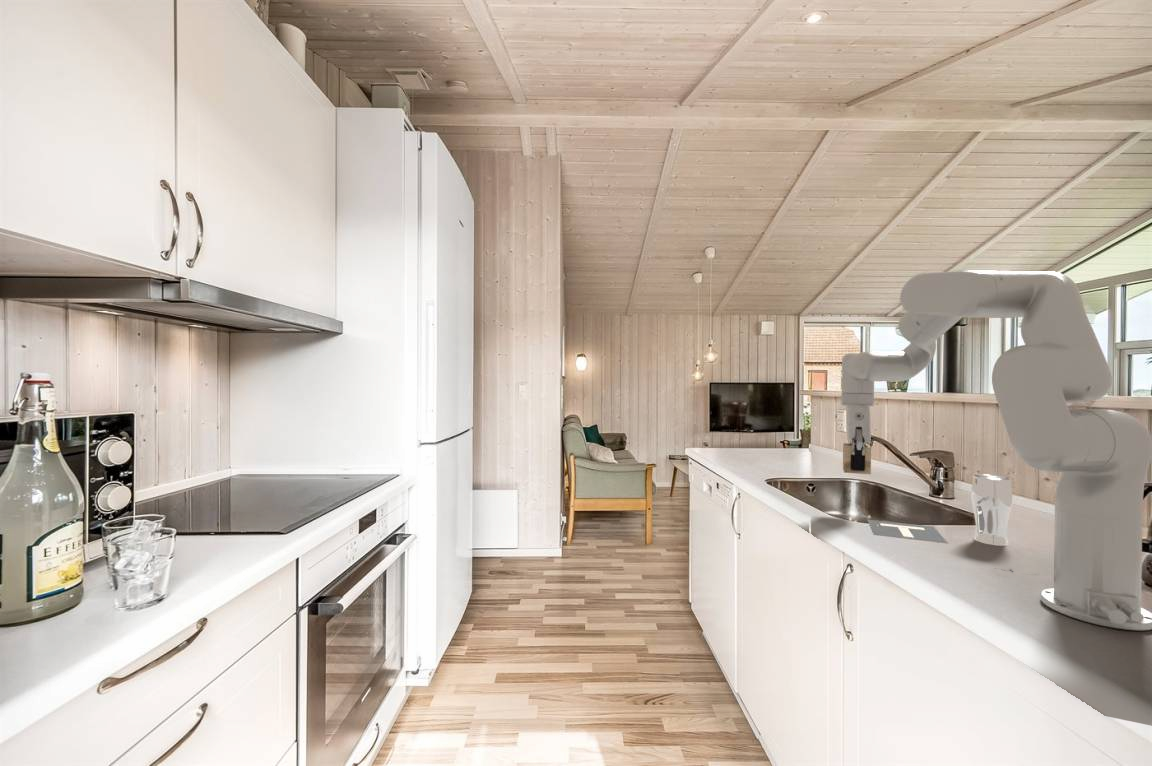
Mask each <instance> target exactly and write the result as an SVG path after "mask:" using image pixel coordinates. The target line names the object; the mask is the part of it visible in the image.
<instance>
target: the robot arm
mask: <svg viewBox="0 0 1152 766" xmlns="http://www.w3.org/2000/svg"><path fill="white" fill-rule="evenodd" d="M899 299H900V301H899V302H900V305H901V307H902V308H903V309H904V311H906V312H905V313H904V314H903V315H902V316H901V317H900V319H899V321H898V325H897V326H898V330H899V331H898V332H900V334H901V336H902V337H903V338H904V339H905V340H906V341H908V343H909V345H907V346H906V347H905V348H904V349H902V350H900V351H895V350H892V351H890V350H885V351H884V350H883V351H882V350H869V351H862V352H857V353H847V354H844V355H843V356H842V358H841V397H840V398H841V399H840V400H841V406H845V407H846V408H845V411H846V413H845V414H846V415H845V416H846V417H845V423H846V424H845V426H846V438H847V441H848V442H849V444H852V455H851V470H856V471H865V455H864V444H868V445H869V446H870V444H871V438H872V437H871V410H870V407H874V406H875V382H904V381H908V380H910V379H913V378H915V377H916V376H917V375H918V374H920V373H921V372H922V371H923V370H925V369H926V368H927V367H928V366H929V365H930V364H931V363H932V361H933V359H934V357H935V354H936V349H937V340H939V338H941V337H942V336H943V335H944V334H945V333H946V332H948V331H949V330H950V329H951V328H953V326H955V324H957V323H958V322H959V321H960V320H961V319H963V318H968V319H969V318H973V319H974V318H975V319H976V318H979V319H981V318H982V319H983V318H984V319H1014V318H1015V319H1017V318H1022V319H1021V324H1020V334H1021V335H1020V336H1021V338H1022V341H1023V343H1024V344H1022V345H1017V346H1014V347H1011V348H1009V349H1007V350H1006V351H1004V352H1002V354H1000V356H999V357H998V358H997V359H996V361H995V362H994V365H993V368H992V374H991V385H992V389H993V392H994V395H995V399H996V402H997V405H998V408H999V411H1000V414H1001V417H1002V420H1003V424H1004V426H1005V430H1006V432H1007V435H1008V438H1009V440H1010V443H1011V445H1012V446H1011V447H1013V449H1014V450H1013V451H1015V453H1016V455H1017V456H1018V458H1020V460H1021V461H1023V462H1024V463H1025V464H1026V465H1028V466H1030V467H1031V468H1033V469H1036V470H1040V471H1044V472H1057V473H1058V472H1061V473H1062V474H1061V475H1060V477H1059V480H1058V481H1057V482H1058V483H1057V485H1056V489H1055V492H1054V493H1055V496H1054V526H1053V527H1054V528H1053V529H1054V533H1053V534H1054V536H1053V537H1054V538H1053V539H1054V540H1053V544H1054V546H1053V549H1054V550H1053V587H1052V588H1046V589H1043V590H1042V591H1041V592H1040V600H1041V602H1042V603H1043V604H1044V605H1045V606H1047V607H1049V608H1050V609H1051V610H1053V611H1055V612H1058V613H1059V614H1060V613H1061V614H1062V615H1064V616H1068V617H1071V618H1074V619H1076V620H1080V621H1083V622H1086V623H1090V624H1093V625H1097V626H1102V627H1107V628H1114V629H1117V630H1118V629H1119V630H1124V631H1125V630H1127V631H1150V630H1152V612H1151V611H1149V610H1147V609H1145V608H1143V607H1142V565H1143V564H1142V563H1143V561H1142V560H1143V557H1142V556H1143V517H1144V515H1143V511H1144V510H1143V508H1144V491H1145V483H1146V477H1147V474H1148V471H1149V467H1150V464H1151V462H1152V461H1151V460H1152V435H1151V433H1150V431H1149V429H1148V428H1147V426H1146V425H1145V424H1144V423H1143V422H1141V420H1139V419H1138V418H1136V417H1134V416H1132V415H1130V414H1128V413H1125V412H1123V411H1118V410H1113V409H1105V408H1104V409H1103V408H1101V409H1100V408H1099V409H1098V408H1072V409H1071V408H1070V409H1069V406H1068V404H1082V403H1090V402H1093V401H1096V400H1100V399H1101V398H1103V397H1104V396H1105V395H1107V394H1108V393H1109V391H1110V390H1111V387H1112V384H1113V376H1112V373H1111V368H1110V367H1109V364H1108V362H1107V359H1106V357H1105V354H1104V352H1103V350H1102V347H1101V345H1100V342H1099V340H1098V338H1097V336H1096V333H1095V331H1094V328H1093V326H1092V324H1091V322H1090V321H1089V318H1088V315H1087V313H1086V310H1085V307H1084V303H1083V300H1082V299H1083V298H1082V295H1081V291H1080V290H1079V288H1078V285H1076V283H1075V282H1074V280H1073V279H1071V278H1070V277H1069V276H1067V275H1066V274H1063V273H1060V272H1056V271H1012V270H1011V271H1010V270H1000V271H999V270H976V269H975V270H972V269H970V270H968V269H967V270H953V271H938V272H935V271H934V272H921V273H917V274H916V275H914V276H912V277H911V278H910V279H908V280H907V282H906V283H905V284H904V285H903V287H902V288H901V292H900V296H899Z"/></svg>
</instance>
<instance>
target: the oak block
mask: <svg viewBox="0 0 1152 766" xmlns="http://www.w3.org/2000/svg"><path fill="white" fill-rule="evenodd" d="M851 455H852V444H850V442H849V443H848V442H847V443H846V442H843V443H842V471H843V473H845V474H847V473H848V474H858V475H859V474H860V475H871V474H872V447H871V445H870V444H869V445H868V444H867V443H864V455H865V471H856V470H851Z"/></svg>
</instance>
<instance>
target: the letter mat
mask: <svg viewBox="0 0 1152 766" xmlns="http://www.w3.org/2000/svg"><path fill="white" fill-rule="evenodd" d="M867 522H868V524H869V527H870V529H871V532H872V535H874V536H880V537H881V536H882V537H888V538H889V537H890V538H897V539H905V540H915V541H925V542H933V543H942V544H949V542H948V541H947V539H945V538H944V536H942V535H941V532H939V530H937V529H936V528H935V526H933V525H932V526H931V525H922V524H911V523H906V522H905V523H904V522H903V523H902V522H896V521H895V522H893V521H884V520H875V519H874V520H873V519H867ZM877 525H878V526H877Z"/></svg>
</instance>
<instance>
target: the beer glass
mask: <svg viewBox="0 0 1152 766" xmlns="http://www.w3.org/2000/svg"><path fill="white" fill-rule="evenodd" d="M970 495H971V504H972V505H971V506H972V509H973V515H974V520H975V531H974V536H973V540H974V541H976V542H979V543H982V544H986V545H992V546H999V547H1001V546H1003V547H1004V546H1009V543H1010V542H1009V540H1008V531H1007V530H1008V524H1009V519H1010V515H1011V511H1012V507H1013V486H1012V478H1011V477H1007V476H1002V475H996V474H981V473H977V474H972V482H971V493H970Z"/></svg>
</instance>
